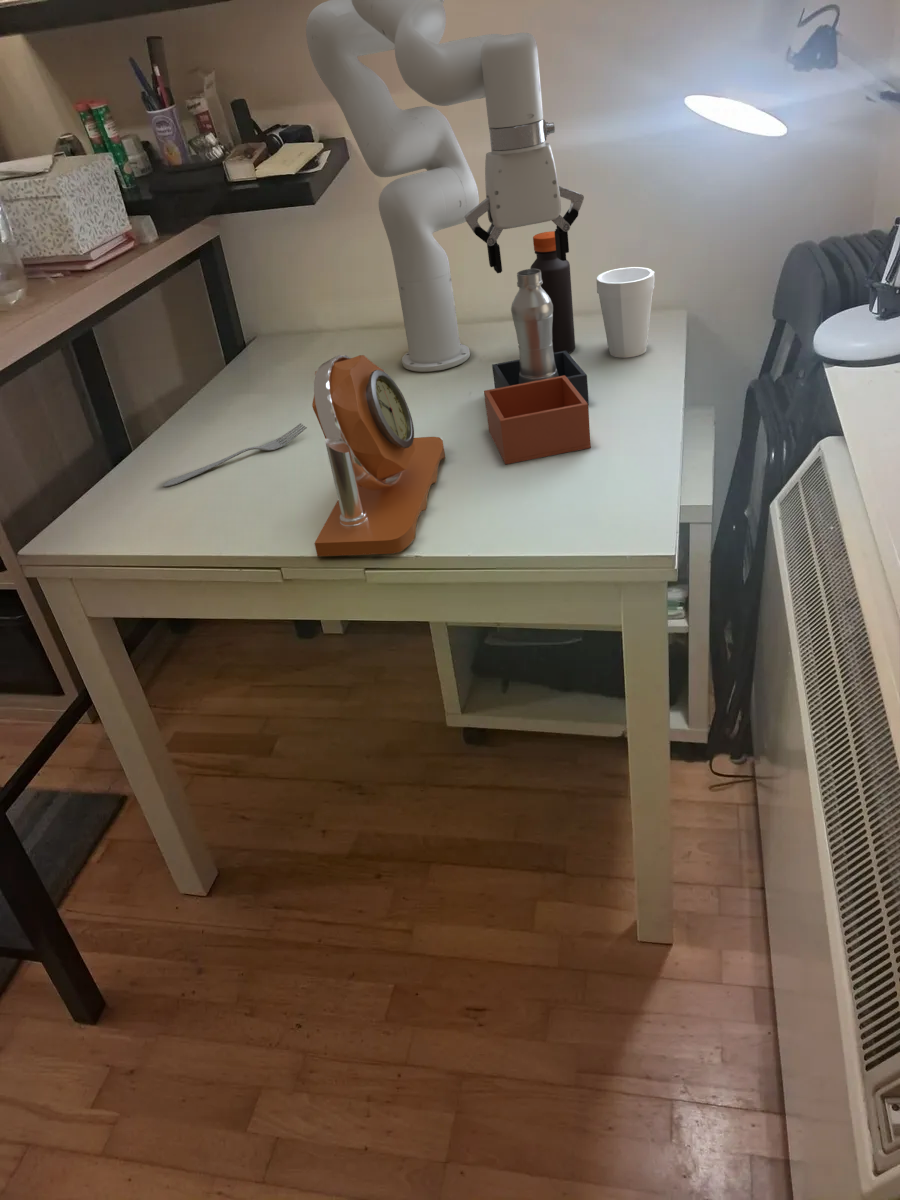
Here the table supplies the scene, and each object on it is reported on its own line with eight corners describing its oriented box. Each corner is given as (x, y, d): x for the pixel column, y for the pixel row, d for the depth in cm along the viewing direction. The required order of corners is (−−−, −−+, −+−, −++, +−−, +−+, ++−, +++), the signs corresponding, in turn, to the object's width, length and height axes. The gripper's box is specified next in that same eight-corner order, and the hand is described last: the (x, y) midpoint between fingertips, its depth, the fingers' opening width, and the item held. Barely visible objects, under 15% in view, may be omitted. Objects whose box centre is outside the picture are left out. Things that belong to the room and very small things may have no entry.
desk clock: (314, 559, 117) (275, 407, 106) (370, 455, 141) (343, 323, 130) (409, 556, 114) (380, 400, 103) (450, 450, 138) (429, 315, 127)
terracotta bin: (488, 431, 142) (483, 390, 139) (568, 416, 143) (565, 375, 139) (505, 464, 132) (500, 421, 128) (590, 447, 133) (588, 404, 129)
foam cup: (653, 339, 166) (652, 264, 159) (658, 357, 158) (656, 279, 151) (599, 345, 168) (595, 271, 160) (601, 363, 160) (597, 286, 153)
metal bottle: (534, 411, 146) (522, 281, 136) (512, 399, 152) (498, 273, 141) (569, 399, 149) (559, 270, 138) (546, 388, 154) (535, 263, 143)
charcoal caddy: (495, 393, 155) (491, 364, 152) (568, 379, 156) (566, 350, 153) (510, 420, 145) (507, 389, 142) (588, 405, 145) (586, 374, 143)
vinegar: (535, 358, 166) (524, 241, 155) (540, 345, 172) (530, 231, 161) (573, 356, 165) (565, 238, 154) (577, 343, 170) (570, 228, 159)
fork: (160, 483, 143) (156, 472, 142) (302, 432, 152) (300, 422, 152) (166, 489, 141) (163, 479, 140) (310, 437, 150) (308, 427, 149)
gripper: (571, 124, 133) (579, 249, 142) (452, 146, 132) (468, 270, 141) (585, 129, 127) (593, 259, 136) (460, 152, 126) (477, 281, 135)
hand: (529, 265), depth 138 cm, fingers open, 9 cm apart
